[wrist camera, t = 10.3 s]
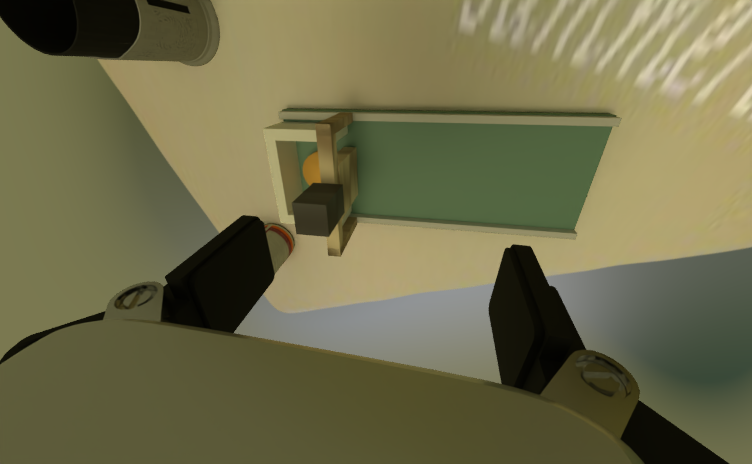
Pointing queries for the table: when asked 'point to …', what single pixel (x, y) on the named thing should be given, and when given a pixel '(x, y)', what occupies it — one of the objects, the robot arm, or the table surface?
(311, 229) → the striker
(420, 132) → the pitch
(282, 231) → the pill bottle
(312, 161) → the yellow domed round part
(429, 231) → the table surface
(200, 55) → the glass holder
